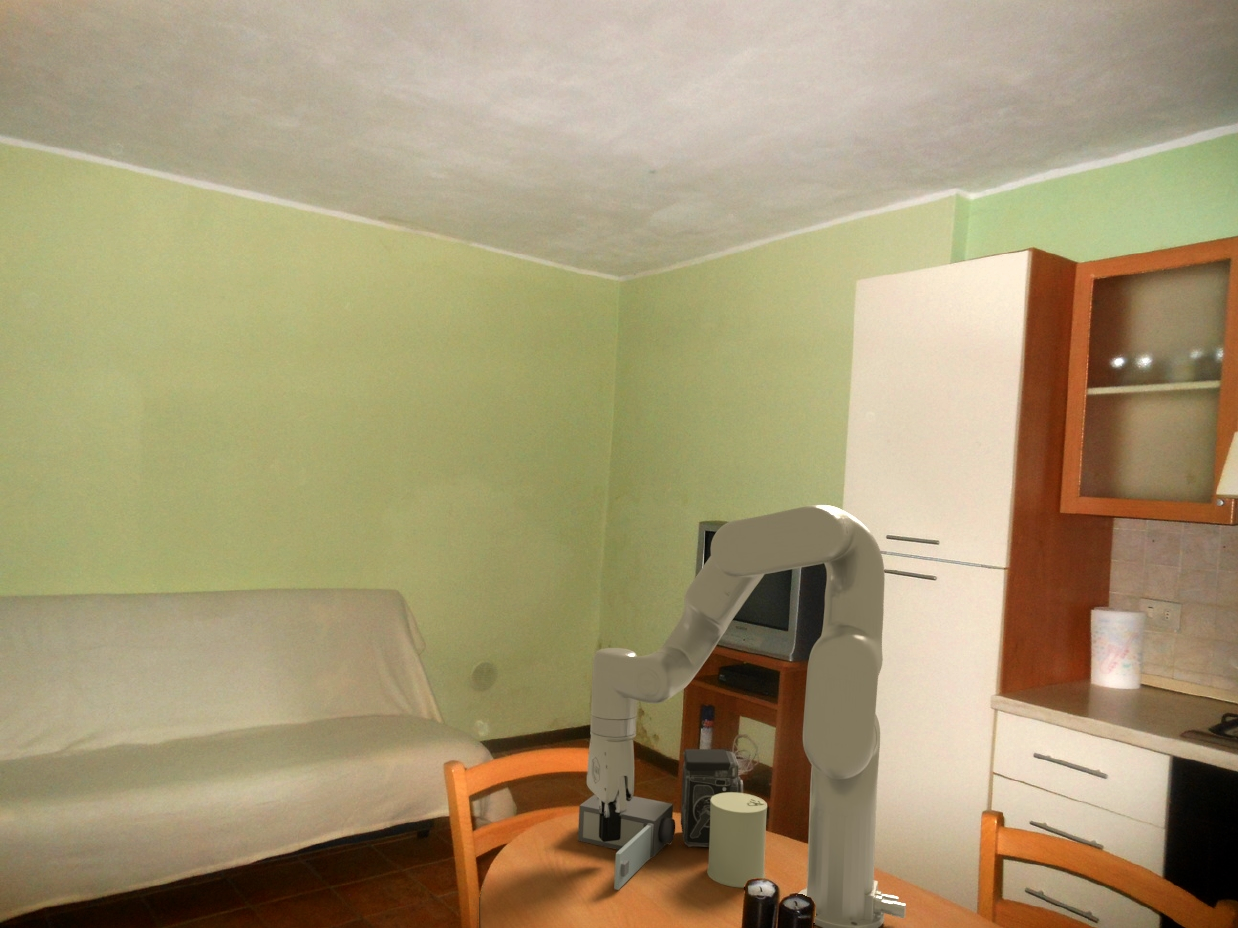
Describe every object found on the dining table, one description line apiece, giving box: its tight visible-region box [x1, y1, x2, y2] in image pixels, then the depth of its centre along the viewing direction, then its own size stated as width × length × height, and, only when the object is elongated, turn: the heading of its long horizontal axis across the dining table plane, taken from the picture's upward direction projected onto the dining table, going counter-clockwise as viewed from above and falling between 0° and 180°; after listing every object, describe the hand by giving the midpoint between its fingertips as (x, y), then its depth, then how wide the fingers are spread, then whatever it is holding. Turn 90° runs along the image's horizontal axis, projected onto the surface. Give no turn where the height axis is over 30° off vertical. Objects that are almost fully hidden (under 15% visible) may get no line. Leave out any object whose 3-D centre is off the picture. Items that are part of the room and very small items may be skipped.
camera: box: [680, 748, 744, 848], centre depth 149 cm, size 10×11×15 cm
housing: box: [577, 794, 676, 858], centre depth 148 cm, size 16×9×7 cm, turn 67°
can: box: [706, 792, 768, 889], centre depth 136 cm, size 9×9×12 cm
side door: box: [613, 823, 654, 891], centre depth 135 cm, size 14×2×5 cm, turn 156°
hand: (609, 838), depth 138 cm, fingers closed
